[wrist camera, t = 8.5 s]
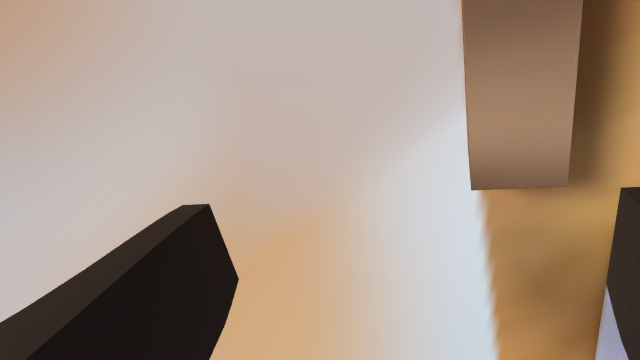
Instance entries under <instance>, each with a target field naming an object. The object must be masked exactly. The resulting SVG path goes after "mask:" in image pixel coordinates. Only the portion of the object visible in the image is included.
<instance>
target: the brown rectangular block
mask: <svg viewBox="0 0 640 360" xmlns="http://www.w3.org/2000/svg"><path fill="white" fill-rule="evenodd" d="M582 9H583V0H462V22H463V45H464V68H465V91H466V113H467V136H468V154H469V167H470V180H471V190H492V189H516V188H540V187H564V186H568V175H569V163H570V151H571V139H572V128H573V116H574V104H575V92H576V80H577V68H578V56H579V44H580V33H581V21H582Z"/></svg>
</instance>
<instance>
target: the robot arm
mask: <svg viewBox="0 0 640 360" xmlns="http://www.w3.org/2000/svg"><path fill="white" fill-rule="evenodd" d="M238 280H239V278H238V276H237V273H236V271H235V268H234V266H233V263H232V261H231V258H230V256H229V253H228V250H227V248H226V245H225V243H224V240H223V238H222V235H221V233H220V230H219V228H218V225H217V223H216V220H215V217H214V215H213V212H212V210H211V207H210V205H209V204H199V205H182V206H180V207H179V208H177V209H175V210H173V211H171V212H170V213H168V214H166V215H165V216H163V217H162V218H160V219H159V220H157V221H155V222H154V223H153V224H151V225H149V226H148V227H146V228H145V229H143V230H142V231H141V232H139V233H137V234H136V235H134V236H133V237H131V238H130V239H129V240H127V241H126V242H124V243H123V244H121V245H120V246H119V247H117V248H115V249H114V250H112V251H111V252H110V253H108V254H107V255H105V256H104V257H102V258H101V259H100V260H98V261H97V262H95V263H93V264H92V265H91V266H89V267H88V268H86V269H85V270H83V271H82V272H80V273H79V274H77V275H75V276H74V277H73V278H71V279H69V280H68V281H66V282H65V283H63V284H62V285H60V286H58V287H57V288H55V289H54V290H52V291H51V292H49V293H48V294H46V295H45V296H43V297H41V298H40V299H38V300H37V301H35V302H34V303H32V304H31V305H29V306H27V307H26V308H24V309H22V310H21V311H19V312H18V313H16V314H14V315H13V316H11V317H9V318H7V319H6V320H4V321H2V322H1V323H0V360H209V359H210V357H211V355H212V352H213V350H214V348H215V346H216V344H217V341H218V339H219V337H220V335H221V332H222V330H223V328H224V325H225V323H226V320H227V317H228V314H229V311H230V308H231V305H232V301H233V298H234V294H235V290H236V287H237V284H238ZM595 360H640V187H629V188H621V191H620V198H619V204H618V210H617V217H616V223H615V230H614V236H613V243H612V249H611V255H610V262H609V268H608V275H607V281H606V290H605V297H604V303H603V310H602V316H601V323H600V329H599V335H598V342H597V348H596V355H595Z"/></svg>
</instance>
